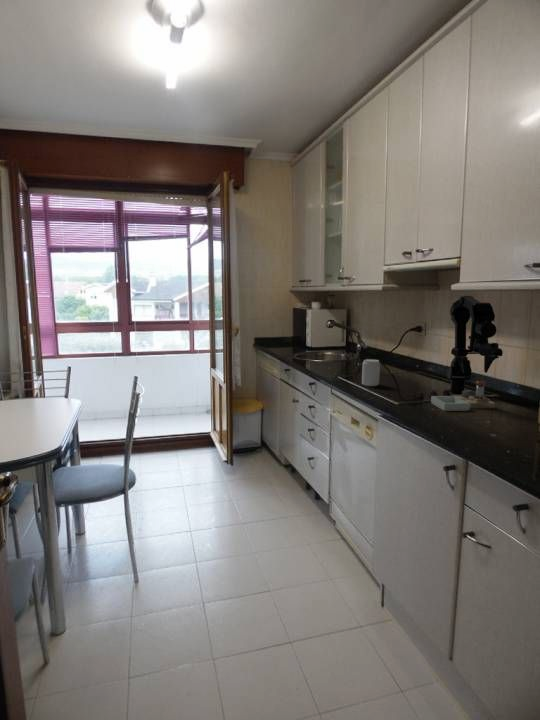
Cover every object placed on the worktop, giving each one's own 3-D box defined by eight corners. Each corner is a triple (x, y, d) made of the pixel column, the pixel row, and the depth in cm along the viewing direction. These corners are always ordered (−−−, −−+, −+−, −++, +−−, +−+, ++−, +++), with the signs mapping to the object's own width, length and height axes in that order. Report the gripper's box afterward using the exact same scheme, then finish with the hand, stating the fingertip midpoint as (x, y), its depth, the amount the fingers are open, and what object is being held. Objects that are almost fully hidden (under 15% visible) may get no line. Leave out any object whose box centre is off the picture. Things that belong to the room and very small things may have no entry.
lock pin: (471, 400, 181) (473, 380, 180) (481, 400, 181) (482, 380, 180) (476, 402, 177) (478, 382, 176) (486, 402, 177) (487, 382, 176)
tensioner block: (453, 399, 190) (454, 388, 189) (476, 399, 191) (477, 388, 190) (470, 408, 176) (471, 397, 175) (494, 408, 177) (495, 396, 176)
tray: (430, 402, 184) (431, 396, 184) (454, 402, 185) (455, 395, 184) (444, 410, 172) (444, 403, 172) (469, 410, 173) (469, 403, 173)
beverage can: (371, 382, 222) (372, 358, 220) (382, 385, 215) (383, 361, 213) (358, 384, 218) (359, 359, 216) (368, 387, 211) (370, 362, 209)
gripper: (466, 337, 169) (462, 377, 172) (513, 337, 171) (508, 377, 174) (452, 333, 180) (448, 371, 183) (496, 333, 182) (492, 370, 185)
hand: (474, 372), depth 181 cm, fingers open, 9 cm apart
